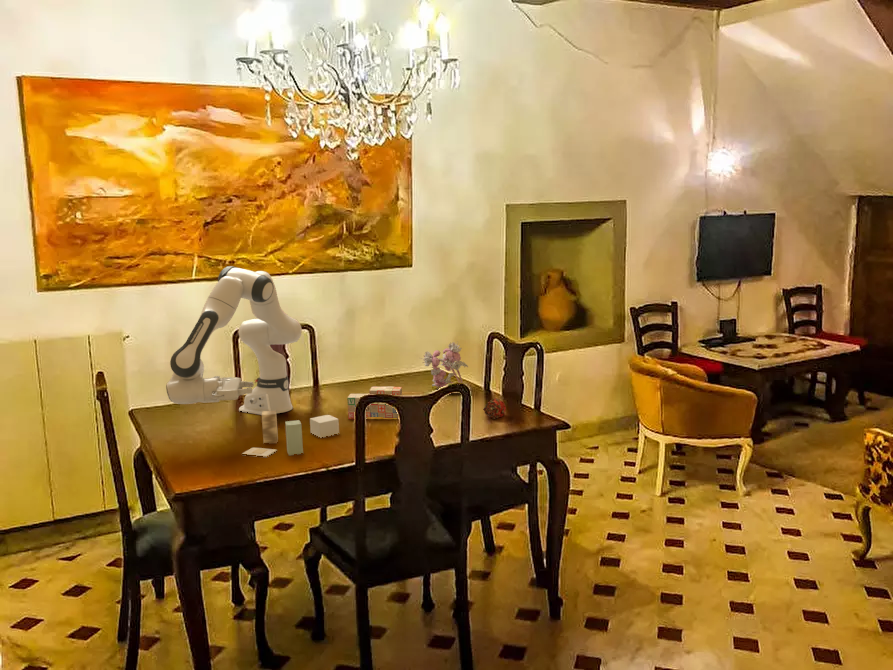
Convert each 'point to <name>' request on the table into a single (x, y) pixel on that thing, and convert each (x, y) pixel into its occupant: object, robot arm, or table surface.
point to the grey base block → (324, 426)
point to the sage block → (294, 437)
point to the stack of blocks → (375, 409)
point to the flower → (445, 364)
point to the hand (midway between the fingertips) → (252, 387)
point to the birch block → (269, 427)
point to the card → (260, 452)
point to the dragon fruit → (495, 408)
